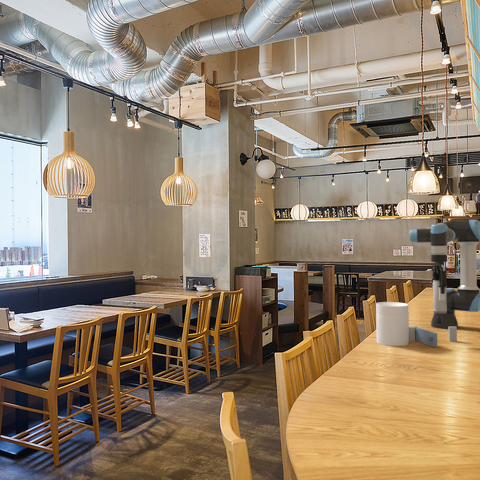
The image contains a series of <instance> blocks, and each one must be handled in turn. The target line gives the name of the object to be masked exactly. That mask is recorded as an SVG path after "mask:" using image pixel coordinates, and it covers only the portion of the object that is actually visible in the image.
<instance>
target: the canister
mask: <svg viewBox="0 0 480 480" xmlns="http://www.w3.org/2000/svg"><path fill="white" fill-rule="evenodd" d="M375 312H376V315H375V318H376V320H375V321H376V323H375V326H376V329H375V330H376V343H377V344H379V345H383V346H388V347H405V346H408V345H409V344H410V342H409V326H410V325H409V319H410V318H409V315H408V312H409V304H408V303H404V302H397V301H396V302H395V301H382V302H376V303H375Z"/></svg>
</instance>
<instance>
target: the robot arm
mask: <svg viewBox="0 0 480 480" xmlns="http://www.w3.org/2000/svg"><path fill="white" fill-rule="evenodd" d="M408 235H409V240H410V243H416V244H418V243H423V244H424V243H430V248H429V249H430V253H431V255H430V261H431V262H432V263H434V265H432V266H431V267H432V274H436V275H439V284H440V286H438V287H439V300H445V287H446V290H447V313H446V314H438V313H434V312H433V315H432V318H431V320H430V326H431V327H434V328H435V329H436V328H438V329H446V330H447V329H448V327H457V329H458V328H459V322H458V320H457V316H456V311H459V312H469V313H477V312H480V288H479V287H478V285H477V282H478V281H477V279H478V278H477V272H478V271H477V262H478V261H477V260H478V259H477V245H478V244H480V220H478V219H460V220H459V219H457V220H454V219H453V220H448V221H443V222H440V223H439V222H438V223H435V224H431V226H428V227H424V228H415V229H414V228H413V229H410V231H409V234H408ZM453 240H455V241H456V240H457V242H456V243H457V244H458V245H459V247H460V248H459V249H460V251H459V252H460V253H459V255H460V257H459V258H460V260H459V261H460V265H459V266H460V270H459V276H460V277H459V279H460V280H459V281H460V282H459V283H460V285H459V286H458V287H457V290H455V288H453V287H448V280H447V275H448V273H447V270H448V267H447V266H445V263H447V262H448V255H447V254H448V244H449V243H452V242H453ZM431 284H433V281H432V283H431ZM447 287H448V288H447Z"/></svg>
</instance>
